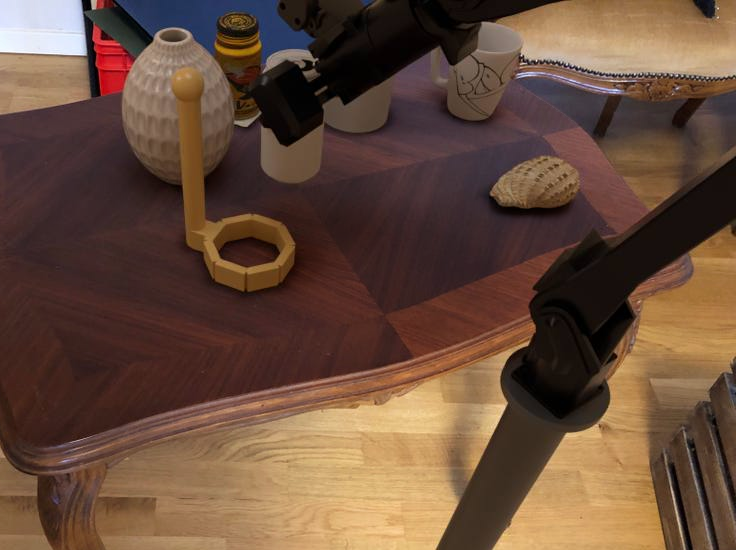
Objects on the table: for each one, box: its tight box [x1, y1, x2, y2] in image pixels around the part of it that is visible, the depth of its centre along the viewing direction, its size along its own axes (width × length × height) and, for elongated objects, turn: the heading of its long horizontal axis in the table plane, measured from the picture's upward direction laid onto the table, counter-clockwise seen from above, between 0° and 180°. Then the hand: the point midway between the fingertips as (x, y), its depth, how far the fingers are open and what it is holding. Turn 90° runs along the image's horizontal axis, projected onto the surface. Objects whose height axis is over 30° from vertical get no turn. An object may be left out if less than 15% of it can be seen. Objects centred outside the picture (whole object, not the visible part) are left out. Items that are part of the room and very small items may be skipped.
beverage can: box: [260, 48, 327, 184], centre depth 72 cm, size 6×6×12 cm
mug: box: [429, 21, 524, 122], centre depth 94 cm, size 11×8×10 cm
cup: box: [324, 74, 396, 134], centre depth 91 cm, size 9×9×12 cm
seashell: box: [488, 154, 581, 209], centre depth 83 cm, size 8×6×10 cm
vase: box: [121, 27, 235, 186], centre depth 81 cm, size 13×13×17 cm
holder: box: [171, 67, 296, 293], centre depth 70 cm, size 13×9×20 cm
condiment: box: [213, 11, 263, 128], centre depth 92 cm, size 7×8×12 cm
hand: (282, 109), depth 72 cm, fingers closed on beverage can, 6 cm apart
